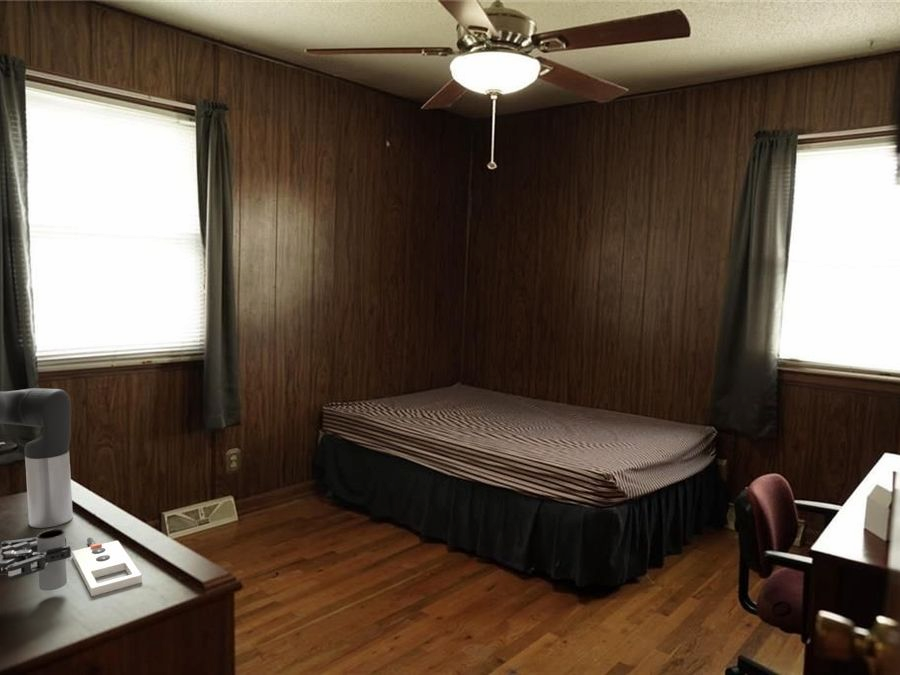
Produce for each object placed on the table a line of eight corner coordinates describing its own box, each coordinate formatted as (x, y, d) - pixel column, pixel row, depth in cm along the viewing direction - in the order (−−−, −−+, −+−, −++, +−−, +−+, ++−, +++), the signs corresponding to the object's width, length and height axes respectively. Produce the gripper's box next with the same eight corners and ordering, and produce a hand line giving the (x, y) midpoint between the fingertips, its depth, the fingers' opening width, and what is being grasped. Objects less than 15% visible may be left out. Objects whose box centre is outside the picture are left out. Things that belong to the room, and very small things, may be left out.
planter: (72, 582, 126) (70, 531, 124) (51, 592, 121) (48, 540, 120) (54, 577, 127) (52, 527, 126) (33, 588, 123) (31, 536, 122)
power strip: (67, 547, 145) (66, 538, 145) (111, 537, 151) (111, 528, 151) (91, 596, 124) (91, 585, 124) (141, 582, 130) (141, 572, 130)
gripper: (-43, 565, 109) (74, 540, 119) (-46, 537, 120) (61, 516, 130) (-40, 607, 109) (75, 579, 120) (-43, 575, 120) (62, 552, 131)
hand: (67, 546), depth 125 cm, fingers closed on planter, 4 cm apart
